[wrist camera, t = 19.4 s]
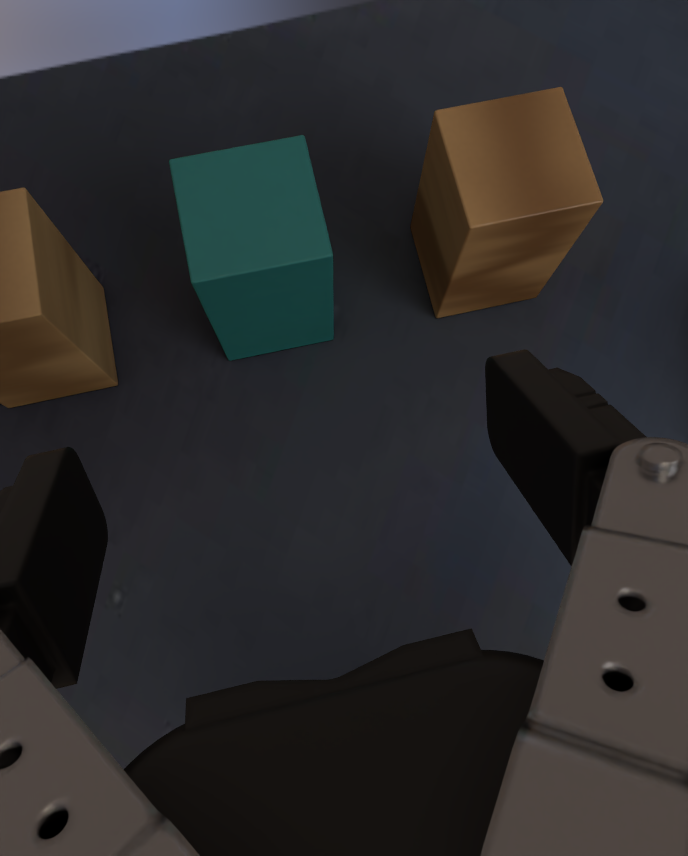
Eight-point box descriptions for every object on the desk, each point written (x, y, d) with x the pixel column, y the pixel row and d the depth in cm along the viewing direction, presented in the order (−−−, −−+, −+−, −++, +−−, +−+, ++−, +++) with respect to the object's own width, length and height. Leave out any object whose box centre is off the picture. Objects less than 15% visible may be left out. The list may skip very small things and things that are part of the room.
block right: (435, 319, 30) (469, 228, 23) (409, 226, 32) (434, 109, 24) (536, 298, 31) (604, 201, 23) (507, 207, 32) (562, 85, 24)
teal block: (228, 361, 30) (190, 283, 22) (210, 265, 31) (167, 158, 23) (334, 340, 30) (333, 255, 22) (312, 245, 31) (304, 133, 23)
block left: (8, 408, 29) (-111, 345, 21) (-3, 308, 30) (-120, 213, 22) (118, 385, 29) (41, 314, 22) (103, 287, 31) (25, 186, 23)
